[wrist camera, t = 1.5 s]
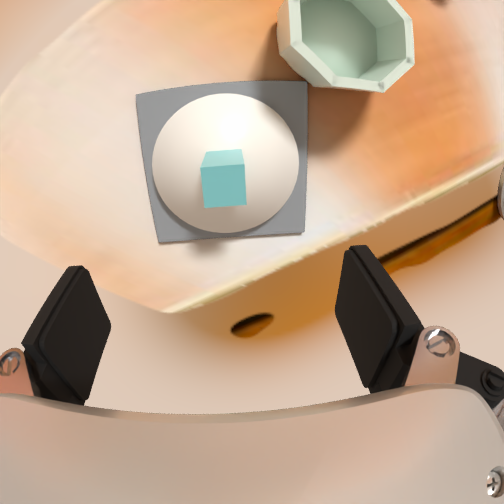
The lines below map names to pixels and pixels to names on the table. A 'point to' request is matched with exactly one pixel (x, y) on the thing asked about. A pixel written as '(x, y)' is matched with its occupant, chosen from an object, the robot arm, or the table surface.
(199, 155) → the lid
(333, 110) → the table surface
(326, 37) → the bowl
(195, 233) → the mat
